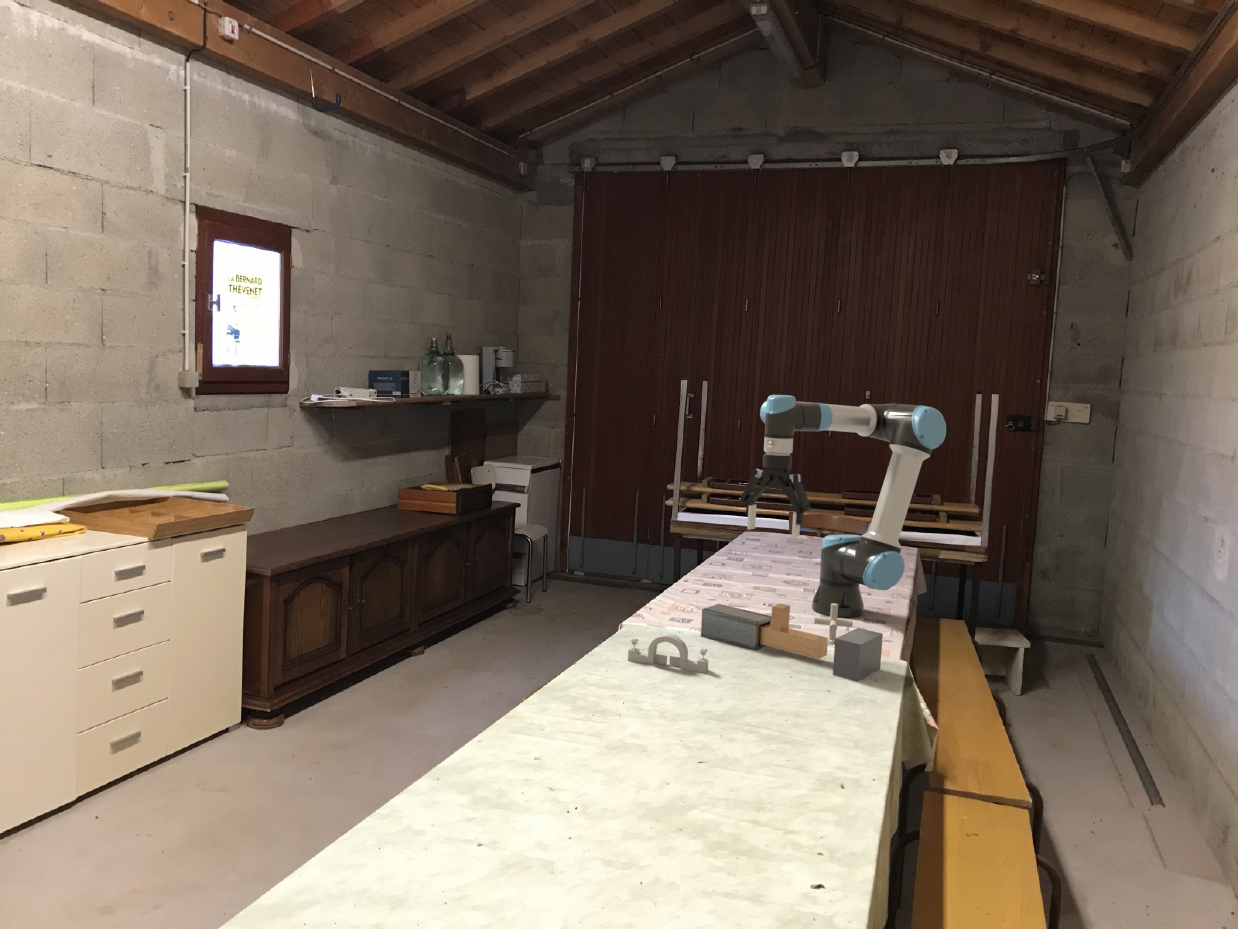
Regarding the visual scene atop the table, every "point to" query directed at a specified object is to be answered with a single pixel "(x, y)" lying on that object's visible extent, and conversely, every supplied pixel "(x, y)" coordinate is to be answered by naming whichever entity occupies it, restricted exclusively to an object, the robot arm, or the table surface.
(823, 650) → the orange-brown sliding bolt
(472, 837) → the table surface
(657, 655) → the gateway
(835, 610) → the cream cross joint
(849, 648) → the socket block
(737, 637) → the sleeve
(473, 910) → the table surface
